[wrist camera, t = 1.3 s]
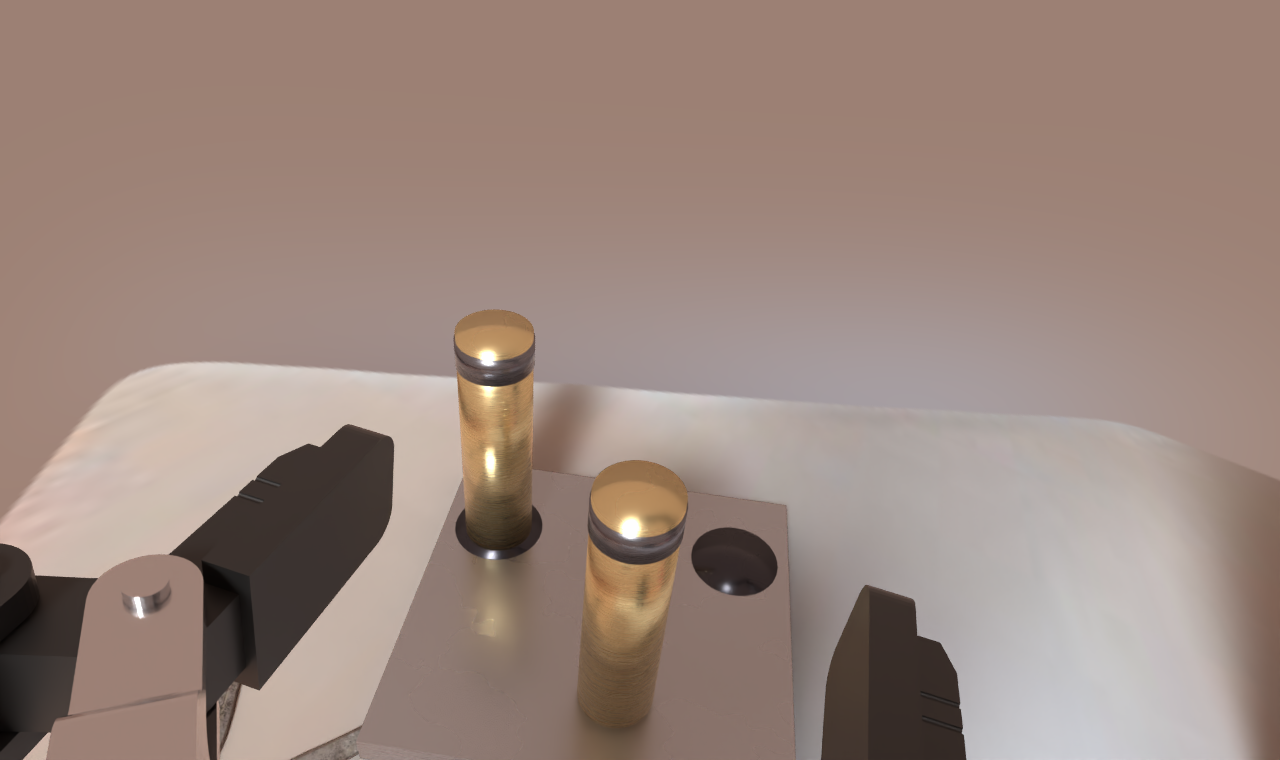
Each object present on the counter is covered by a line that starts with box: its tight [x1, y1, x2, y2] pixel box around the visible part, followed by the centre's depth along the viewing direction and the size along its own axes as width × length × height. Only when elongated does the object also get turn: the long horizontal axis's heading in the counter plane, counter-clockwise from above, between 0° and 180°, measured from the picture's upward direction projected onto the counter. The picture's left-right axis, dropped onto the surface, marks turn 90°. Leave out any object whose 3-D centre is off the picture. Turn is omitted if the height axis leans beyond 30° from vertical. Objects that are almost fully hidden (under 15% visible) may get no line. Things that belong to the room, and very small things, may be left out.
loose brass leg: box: [577, 460, 688, 728], centre depth 29 cm, size 3×3×11 cm
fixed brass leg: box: [454, 310, 535, 551], centre depth 35 cm, size 3×3×11 cm
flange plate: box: [356, 469, 795, 760], centre depth 36 cm, size 16×15×1 cm
